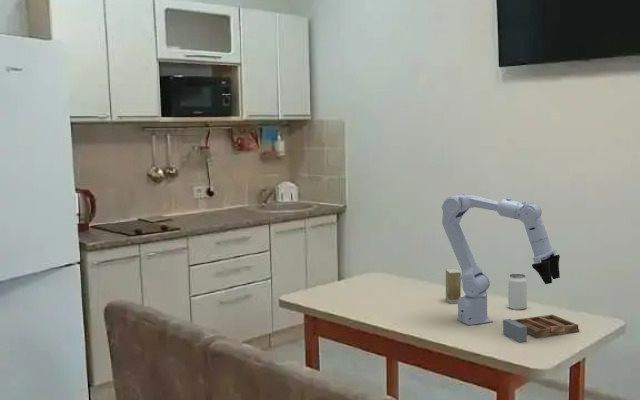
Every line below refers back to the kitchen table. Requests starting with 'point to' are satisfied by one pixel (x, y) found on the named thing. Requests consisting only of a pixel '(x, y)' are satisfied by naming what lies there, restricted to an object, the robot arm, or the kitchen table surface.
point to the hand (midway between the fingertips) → (552, 280)
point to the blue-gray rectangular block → (515, 330)
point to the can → (517, 292)
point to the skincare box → (453, 285)
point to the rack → (548, 326)
